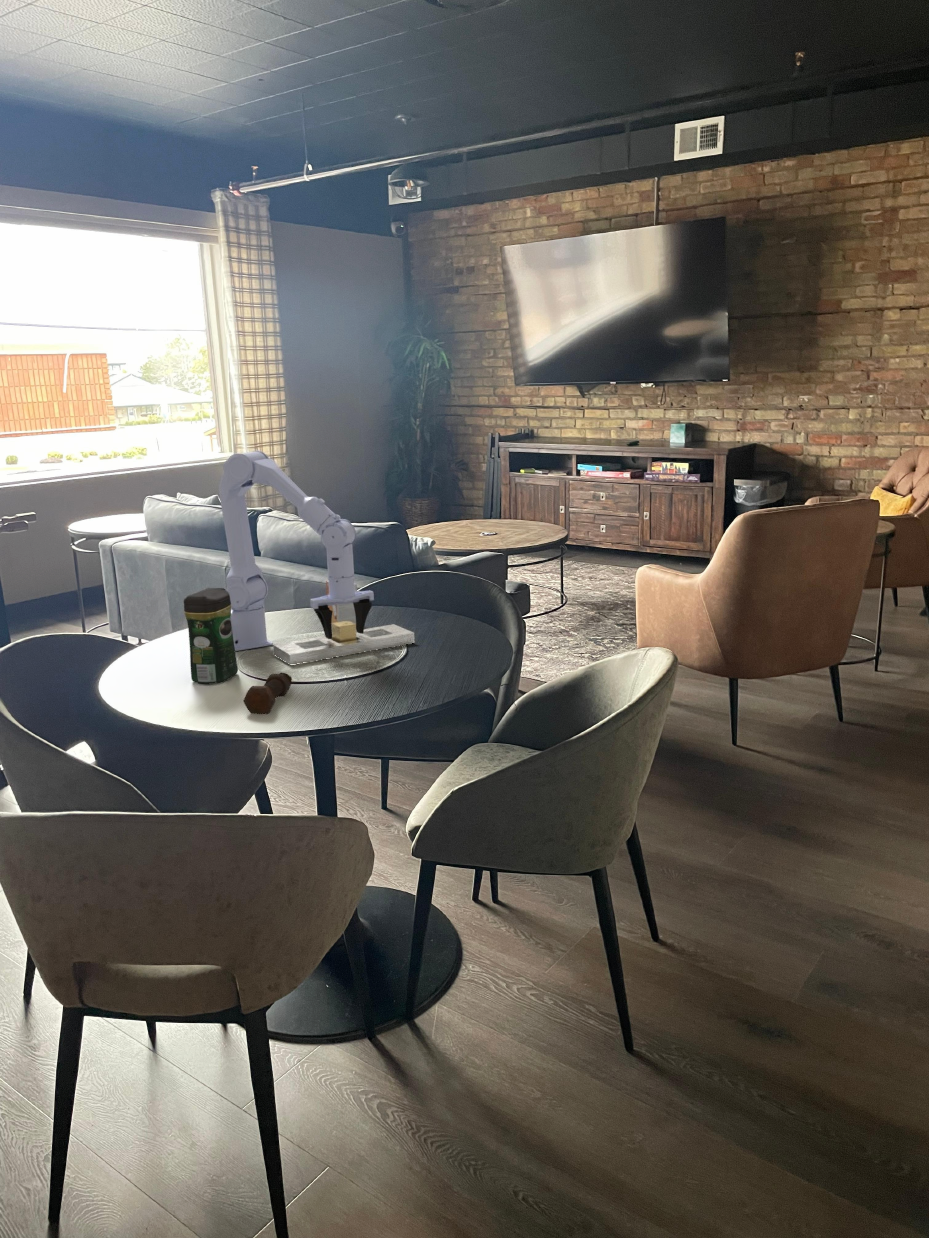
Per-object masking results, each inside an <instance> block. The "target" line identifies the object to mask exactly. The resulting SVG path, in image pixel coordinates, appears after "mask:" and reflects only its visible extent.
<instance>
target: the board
mask: <svg viewBox="0 0 929 1238" xmlns="http://www.w3.org/2000/svg"><path fill="white" fill-rule="evenodd" d="M412 643H414V644H415V632H414V631H411V630H408V629H407V628H403V627H401V626H399V625H396V624H394V623H392V624H388V625H387V624H386V625H381V626H375V627H369V628H364V631H363V634H360V633H358V632H357V630H356V640H354V641H349V642H343V643H337V642H335V641H333V637H332V639H328V638H326V637H325V635H323V636H322V635H321V636H316V637H309V638H305V639H299V640H291V641H287V642H280V643H276V644H274V643H273V645H272V647H273V649H272V650H273V656H274V655H276V656H277V657H279V658H281V659H282V660H284V661H286V662H287V663H289V664H297V663H303V662H310V661H316V660H321V659H326V658H332V657H336V656H342V655H348V656H350V655H349V654H354V655H356V654H355V653H359V652H364V651H370V650H376V649H381V650H383V649H382V648H387V647H392V648H395V647H394V646H397V647H400V646H399V645H403V646H407V645H406V644H408V645H413V644H412ZM387 649H388V648H387ZM376 651H377V650H376ZM370 652H371V651H370ZM359 654H360V653H359ZM277 657H276V658H277ZM279 658H278V659H279ZM332 659H333V658H332ZM282 660H281V661H282ZM321 661H322V660H321ZM316 662H317V661H316ZM287 663H286V664H287ZM310 663H311V662H310Z"/></svg>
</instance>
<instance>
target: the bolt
mask: <svg viewBox="0 0 929 1238" xmlns="http://www.w3.org/2000/svg"><path fill="white" fill-rule="evenodd" d="M292 681H293V678H292V676H290V675H289V674H288V673H287V672H280V673H279V672H278V673H271V674H269V676H268V677H267V679H266V681H265V683H264V685H251V686H250V687H249V688H248V690H247V692H246V694H245V696H244V698H243V704H244V706H245V708H246V709H247V711H248V712H249V713H250V714H251V715H268V714H269V713H270V712H271V711H272V708H273V707H274V705H275V703H276V701H277V699H276V698H283V697H285V696H286V695H287V694H288V692H289V690H290V688H291V685H292V684H293V682H292Z"/></svg>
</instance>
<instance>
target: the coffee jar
mask: <svg viewBox="0 0 929 1238" xmlns="http://www.w3.org/2000/svg"><path fill="white" fill-rule="evenodd" d="M231 609H232V608H231V600H230V595H229V593H228V592H227V591H226V589H225V587H206V588H205V589H202V590H200V591H197V592H196V593H192V594H189V595H187V596H186V597H184V599H183V613H184V616H185V618H186V619H185V620H186V623H187V628H188V629H187V631H188V640H189V642H188V644H189V659H190V660H189V664H190V665H189V667H190V676H191V677H190V678H191V681H192V682H194V683H196V684H199V685H206V686H208V685H213V684H221V683H224V682H227V681H228V680H230V679H232V678H233V677H234V676H236V675H237V674H238V672H239V667H238V660H237V655H236V651H235V647H234V640H233V633H232V625H231Z"/></svg>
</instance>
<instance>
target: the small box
mask: <svg viewBox="0 0 929 1238" xmlns="http://www.w3.org/2000/svg"><path fill="white" fill-rule="evenodd" d="M325 584H326V595H329V583H328V580H326V582H325ZM357 586H358V584H357V583H355V592H358V587H357ZM328 608H329V609H330V610H332V611H333V612H332V621H331V624H332V623H336V622H342V621H350V622H352V623H355V624H356V616H355V610H354V605H353V602H352V603H346V604H339V605H332V606H328Z"/></svg>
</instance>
